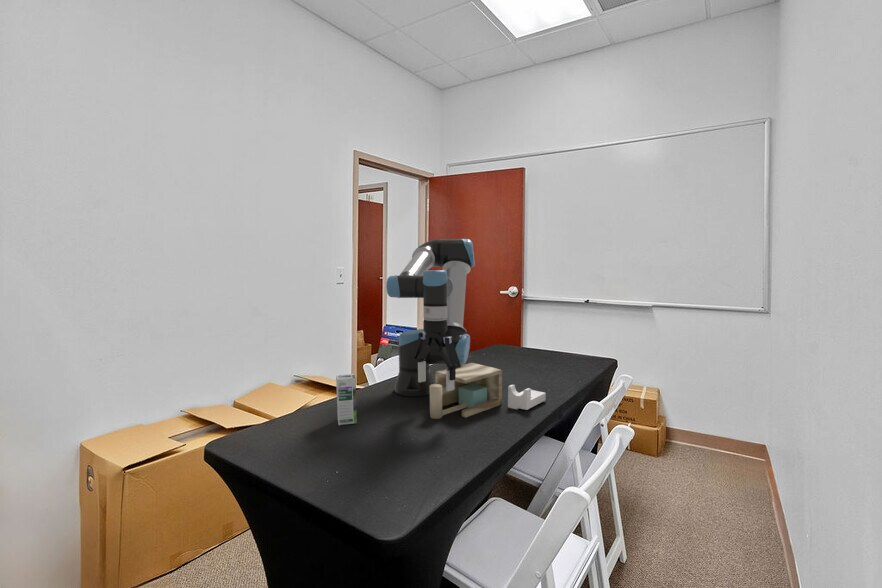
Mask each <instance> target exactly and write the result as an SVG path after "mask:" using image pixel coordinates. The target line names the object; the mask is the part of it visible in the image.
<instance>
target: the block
mask: <svg viewBox="0 0 882 588" xmlns="http://www.w3.org/2000/svg"><path fill="white" fill-rule="evenodd" d="M484 402H487V387H484V386H481V385H477V384H474V383H471V384H468V385H464V386H461V387H459V401H458V405H453V406H452V407H449V408H445V409H443V407H442V385H440V384H435V383H434V384H432V385H430V394H429V418H431V419H434V420H438V419H441V418H443V416H445V415H448V414H451V413H454V412H457V411H460V410H464V409H467V408H470V407H473V406H476V405H479V404H481V403H484Z"/></svg>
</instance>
